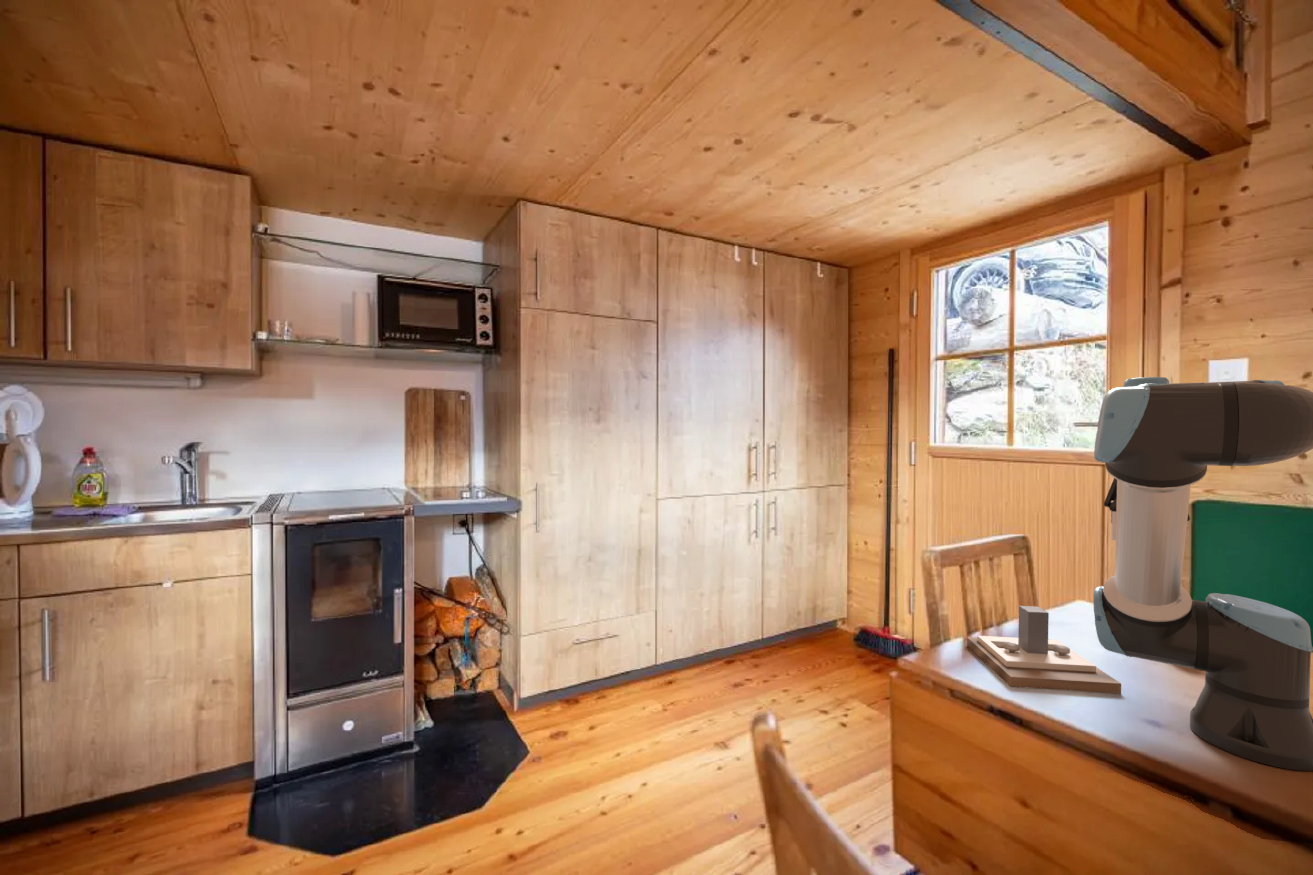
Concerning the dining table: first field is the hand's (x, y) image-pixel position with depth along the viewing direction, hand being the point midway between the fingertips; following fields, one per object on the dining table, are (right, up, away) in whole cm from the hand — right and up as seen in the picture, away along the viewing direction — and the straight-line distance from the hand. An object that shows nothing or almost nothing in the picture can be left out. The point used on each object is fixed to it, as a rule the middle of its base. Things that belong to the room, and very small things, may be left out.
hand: (1142, 546), depth 119 cm
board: (-23, -26, 0) cm, 35 cm away
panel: (-23, -24, +1) cm, 33 cm away
